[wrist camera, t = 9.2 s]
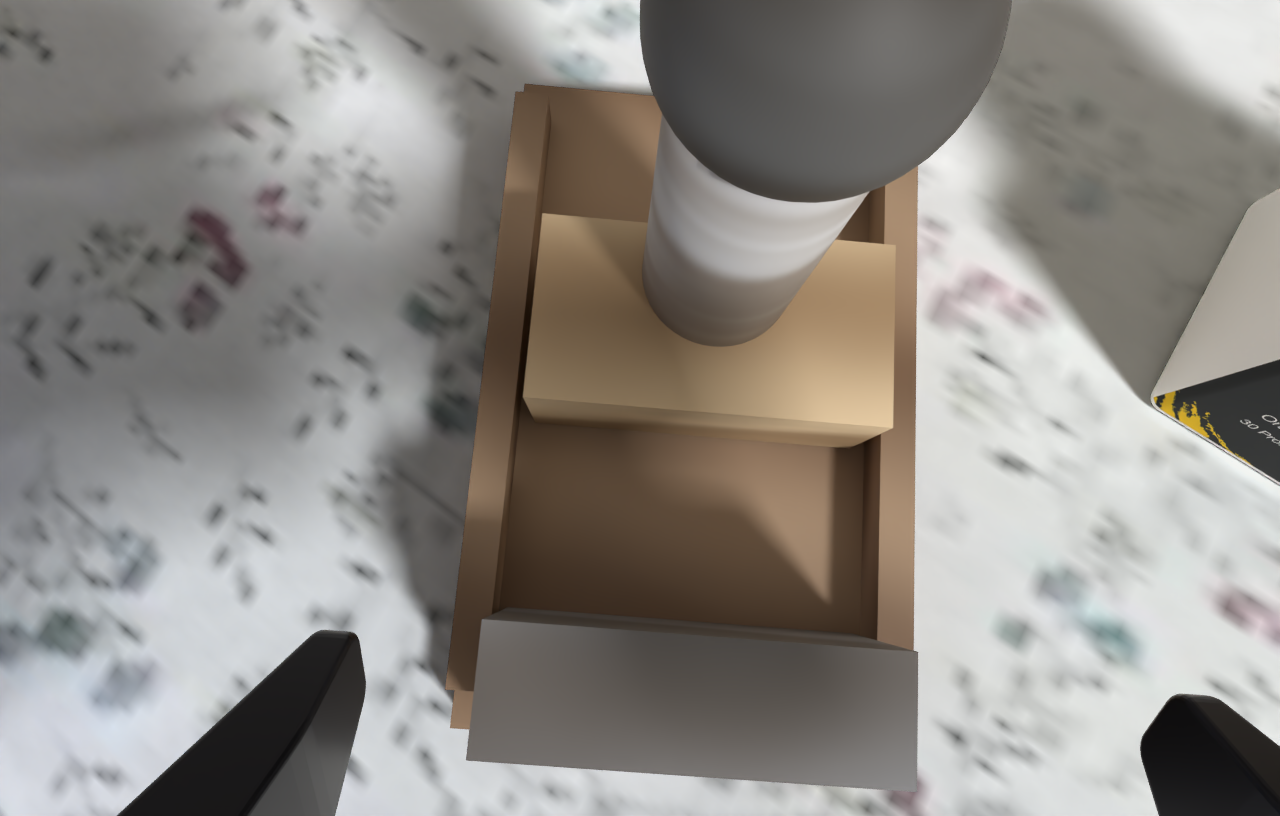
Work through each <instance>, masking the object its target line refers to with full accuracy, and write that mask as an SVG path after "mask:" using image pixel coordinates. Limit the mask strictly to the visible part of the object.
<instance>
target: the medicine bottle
mask: <svg viewBox="0 0 1280 816" xmlns="http://www.w3.org/2000/svg"><path fill="white" fill-rule="evenodd" d="M1151 402H1152V405H1153V406H1154V407H1155V408H1156V409H1157V410H1159V411H1160V412H1162V413H1164V414H1165V415H1167V416H1168V417H1170V418H1172V419H1173V420H1175V421H1177V422H1178V423H1180V424H1181V425H1183V426H1185V427H1186V428H1188V429H1190V430H1191V431H1193V432H1194V433H1196V434H1198V435H1199V436H1201V437H1203V438H1204V439H1206V440H1207V441H1209V442H1211V443H1212V444H1214V445H1216V446H1217V447H1219V448H1220V449H1222V450H1224V451H1225V452H1227V453H1229V454H1230V455H1232V456H1234V457H1235V458H1237V459H1238V460H1240V461H1242V462H1243V463H1245V464H1247V465H1248V466H1250V467H1251V468H1253V469H1255V470H1256V471H1258V472H1260V473H1261V474H1263V475H1264V476H1266V477H1268V478H1269V479H1271V480H1273V481H1274V482H1276V483H1277V484H1279V485H1280V188H1279V189H1277V190H1276V191H1274V192H1272V193H1270V194H1268V195H1267V196H1265V197H1263V198H1261V199H1259V200H1258V201H1256V202H1255V203H1254V204H1253V205H1252V206H1251V207H1250V208H1249V209H1248V210H1247V211H1246V213H1245V215H1244V217H1243V219H1242V221H1241V223H1240V225H1239V227H1238V229H1237V231H1236V232H1235V234H1234V236H1233V238H1232V240H1231V242H1230V244H1229V246H1228V248H1227V250H1226V252H1225V254H1224V255H1223V257H1222V259H1221V261H1220V263H1219V265H1218V267H1217V269H1216V271H1215V273H1214V275H1213V277H1212V278H1211V280H1210V282H1209V284H1208V286H1207V288H1206V290H1205V292H1204V294H1203V296H1202V298H1201V299H1200V301H1199V303H1198V305H1197V307H1196V309H1195V311H1194V313H1193V315H1192V317H1191V319H1190V321H1189V322H1188V324H1187V326H1186V328H1185V330H1184V332H1183V334H1182V336H1181V338H1180V340H1179V342H1178V344H1177V345H1176V347H1175V349H1174V351H1173V353H1172V355H1171V357H1170V359H1169V361H1168V363H1167V365H1166V366H1165V368H1164V370H1163V372H1162V374H1161V376H1160V378H1159V380H1158V382H1157V384H1156V386H1155V388H1154V389H1153V391H1152V393H1151Z"/></svg>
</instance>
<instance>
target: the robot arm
mask: <svg viewBox="0 0 1280 816" xmlns="http://www.w3.org/2000/svg"><path fill="white" fill-rule="evenodd" d="M365 689H366V680H365V673H364V667H363V661H362V655H361V648H360V642H359V639H358V637H357V635H356V634H355V633H353V632H347V631H334V630H320V631H318V632H316V633H314V634H312V635H311V636H310V637H309V638H308V639H307V640H306V641H305V642H304V643H303V644H301V645H300V646H299V647H298V648H297V649H296V650H295V651H294V652H293V653H292V654H291V655H290V656H288V657H287V658H286V659H285V660H284V661H283V662H282V663H281V664H280V665H279V666H278V667H277V668H276V669H274V670H273V671H272V672H271V673H270V674H269V675H268V676H267V677H266V678H265V679H264V680H263V681H262V682H260V683H259V684H258V685H257V686H256V687H255V688H254V689H253V690H252V691H251V692H250V693H249V694H248V695H246V696H245V697H244V698H243V699H242V700H241V701H240V702H239V703H238V704H237V705H236V706H235V707H234V708H232V709H231V710H230V711H229V712H228V713H227V714H226V715H225V716H224V717H223V718H222V719H221V720H220V721H218V722H217V723H216V724H215V725H214V726H213V727H212V728H211V729H210V730H209V731H208V732H207V733H206V734H204V735H203V736H202V737H201V738H200V739H199V740H198V741H197V742H196V743H195V744H194V745H193V746H192V747H190V748H189V749H188V750H187V751H186V752H185V753H184V754H183V755H182V756H181V757H180V758H179V759H177V760H176V761H175V762H174V763H173V764H172V765H171V766H170V767H169V768H168V769H167V770H166V771H165V772H163V773H162V774H161V775H160V776H159V777H158V778H157V779H156V780H155V781H154V782H153V783H152V784H151V785H149V786H148V787H147V788H146V789H145V790H144V791H143V792H142V793H141V794H140V795H139V796H138V797H137V798H135V799H134V800H133V801H132V802H131V803H130V804H129V805H128V806H127V807H126V808H125V809H124V810H123V811H121V812H120V813H119V814H118V815H117V816H335V813H336V809H337V805H338V801H339V797H340V793H341V789H342V786H343V782H344V778H345V774H346V770H347V766H348V762H349V758H350V754H351V750H352V746H353V742H354V738H355V734H356V730H357V726H358V722H359V718H360V715H361V711H362V707H363V702H364V697H365ZM1140 751H1141V758H1142V762H1143V765H1144V769H1145V772H1146V775H1147V778H1148V782H1149V785H1150V788H1151V791H1152V795H1153V798H1154V801H1155V804H1156V808H1157V811H1158V814H1159V816H1280V746H1278V745H1277V744H1276V743H1275V742H1273V741H1272V740H1271V739H1270V738H1268V737H1267V736H1266V735H1265V734H1263V733H1262V732H1261V731H1259V730H1258V729H1257V728H1256V727H1254V726H1253V725H1252V724H1251V723H1249V722H1248V721H1247V720H1245V719H1244V718H1243V717H1242V716H1240V715H1239V714H1238V713H1237V712H1235V711H1234V710H1233V709H1231V708H1230V707H1229V706H1228V705H1226V704H1225V703H1224V702H1222V701H1221V700H1219V699H1217V698H1214V697H1211V696H1206V695H1193V694H1176V695H1174V696H1172V697H1171V698H1170V699H1169V700H1168V701H1167V702H1166V703H1165V705H1164V706H1163V708H1162V709H1161V710H1160V712H1159V713H1158V715H1157V716H1156V717H1155V719H1154V720H1153V722H1152V723H1151V724H1150V726H1149V727H1148V729H1147V730H1146V731H1145V733H1144V734H1143V736H1142V740H1141V746H1140Z"/></svg>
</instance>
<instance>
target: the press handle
mask: <svg viewBox="0 0 1280 816" xmlns="http://www.w3.org/2000/svg"><path fill="white" fill-rule="evenodd" d="M1011 2H1012V0H641V1H640V39H641V46H642V54H643V60H644V64H645V68H646V72H647V76H648V79H649V83H650V86H651V90H652V92H653V95H654V97H655V99H656V101H657V104H658V106H659V108H660V110H661V112H662V117H661V124H660V132H659V140H658V148H657V156H656V163H655V171H654V179H653V187H652V194H651V202H650V210H649V218H648V223H645V222H633V221H622V220H611V219H600V218H589V217H578V216H567V215H556V214H545V213H543V214H542V223H541V232H540V242H539V251H538V260H537V270H536V279H535V288H534V298H533V307H532V316H531V326H530V335H529V344H528V354H527V363H526V372H525V382H524V391H523V398H524V400H525V402H526V404H527V407H528V409H529V411H530V413H531V415H532V417H533V419H534V421H535V423H545V424H557V425H569V426H582V427H594V428H606V429H618V430H630V431H642V432H654V433H666V434H679V435H691V436H703V437H715V438H727V439H739V440H751V441H763V442H775V443H788V444H800V445H812V446H824V447H836V448H848V449H849V448H851V447H853V446H856V445H858V444H860V443H862V442H864V441H866V440H868V439H871V438H873V437H875V436H877V435H879V434H881V433H883V432H885V431H888V430H890V429H892V428H893V401H894V331H895V262H896V245H889V244H877V243H866V242H855V241H844V240H835V239H836V238H837V236H838V235H839V233H840V232H841V231H842V229H843V228H844V226H845V225H846V224H847V222H848V221H849V219H850V218H851V217H852V215H853V214H854V212H855V211H856V210H857V208H858V207H859V205H860V204H861V203H862V201H863V200H864V198H865V197H866V196H867V194H868V193H869V191H872V190H874V189H877V188H880V187H883V186H885V185H887V184H889V183H890V182H892V181H894V180H896V179H898V178H900V177H902V176H903V175H905V174H906V173H908V172H909V171H911V170H912V169H914V168H915V167H917V166H918V165H919V164H921V163H922V162H923V161H925V160H926V159H928V158H929V157H930V156H931V155H932V154H933V153H934V152H935V151H936V150H938V149H939V148H940V147H941V146H942V145H943V144H944V143H945V142H946V141H947V140H948V139H949V138H950V137H951V136H952V135H953V134H954V133H955V132H956V130H957V129H958V128H959V127H960V125H961V124H962V123H963V121H964V120H965V119H966V118H967V116H968V115H969V113H970V112H971V111H972V109H973V108H974V106H975V105H976V103H977V102H978V100H979V98H980V96H981V95H982V93H983V91H984V89H985V87H986V86H987V84H988V82H989V80H990V77H991V75H992V73H993V70H994V68H995V66H996V63H997V61H998V58H999V55H1000V53H1001V50H1002V47H1003V43H1004V39H1005V35H1006V30H1007V26H1008V21H1009V16H1010V11H1011Z"/></svg>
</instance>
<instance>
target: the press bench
mask: <svg viewBox="0 0 1280 816" xmlns="http://www.w3.org/2000/svg"><path fill="white" fill-rule="evenodd" d="M661 117H662V112H661V110H660V108H659V106H658V104H657V101H656V99H655V97H654V96H649V95H638V94H628V93H617V92H606V91H596V90H585V89H575V88H564V87H554V86H543V85H533V84H525V85H524V92H516V93H515V101H514V110H513V118H512V127H511V135H510V144H509V152H508V161H507V169H506V177H505V186H504V194H503V203H502V211H501V220H500V228H499V237H498V245H497V254H496V262H495V271H494V279H493V288H492V296H491V305H490V313H489V321H488V330H487V338H486V347H485V355H484V364H483V372H482V381H481V389H480V398H479V406H478V415H477V423H476V432H475V440H474V448H473V457H472V465H471V474H470V482H469V491H468V499H467V508H466V516H465V525H464V533H463V542H462V550H461V559H460V567H459V575H458V584H457V592H456V601H455V609H454V618H453V626H452V635H451V643H450V652H449V660H448V669H447V677H446V686H445V690H454V698H453V707H452V715H451V724H450V728H457V729H470V730H469V739H468V747H467V756H466V760H467V761H482V762H496V763H510V764H524V765H539V766H553V767H567V768H581V769H596V770H610V771H624V772H639V773H653V774H667V775H681V776H696V777H710V778H724V779H738V780H753V781H767V782H781V783H795V784H810V785H824V786H838V787H852V788H867V789H881V790H895V791H909V792H917V717H918V652H916V651H913V646H914V532H915V418H916V304H917V190H918V166H917V167H915V168H914V169H912V170H911V171H909V172H908V173H906V174H905V175H903V176H902V177H900V178H898V179H896V180H894V181H892V182H890V183H889V184H887V185H885V186H883V187H880V188H877V189H874V190H872V191H869V193H868V194H867V196H866V197H865V198H864V200H863V201H862V203H861V204H860V205H859V207H858V208H857V210H856V211H855V212H854V214H853V215H852V217H851V218H850V219H849V221H848V222H847V224H846V225H845V226H844V228H843V229H842V231H841V232H840V233H839V235H838V236H837V238H836V239H835V240H844V241H855V242H866V243H877V244H889V245H896V262H895V331H894V401H893V428H892V429H890V430H888V431H885V432H883V433H881V434H879V435H877V436H875V437H873V438H871V439H868V440H866V441H864V442H862V443H860V444H858V445H856V446H853V447H851V448H849V449H848V448H836V447H824V446H812V445H800V444H788V443H775V442H763V441H751V440H739V439H727V438H715V437H703V436H691V435H679V434H666V433H654V432H642V431H630V430H618V429H606V428H594V427H582V426H569V425H557V424H545V423H535V421H534V419H533V417H532V415H531V413H530V411H529V409H528V407H527V404H526V402H525V400H524V398H523V391H524V382H525V372H526V363H527V354H528V344H529V335H530V326H531V316H532V307H533V298H534V288H535V279H536V270H537V260H538V251H539V242H540V232H541V223H542V214H543V213H545V214H556V215H567V216H578V217H589V218H600V219H611V220H622V221H633V222H645V223H648V218H649V210H650V202H651V194H652V187H653V179H654V171H655V163H656V156H657V148H658V140H659V132H660V124H661Z"/></svg>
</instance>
